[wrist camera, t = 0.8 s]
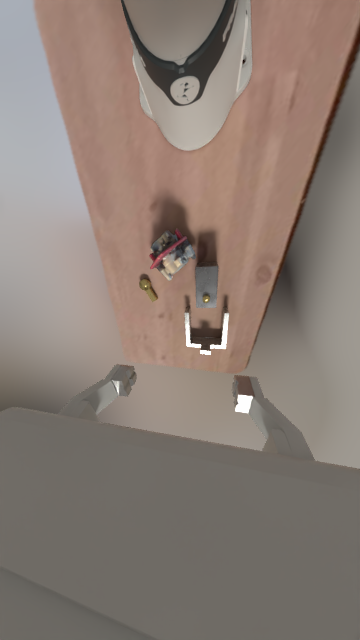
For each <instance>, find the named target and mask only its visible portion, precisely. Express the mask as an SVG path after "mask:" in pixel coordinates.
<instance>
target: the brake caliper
mask: <svg viewBox="0 0 360 640" xmlns="http://www.w3.org/2000/svg"><path fill="white" fill-rule="evenodd" d="M151 251H152V252H154V253H152V254H150V255H149V256H150V258H151V259H152V260H153V261H154V262H153V264H152V266H151V267H150V268H151V269H153V268H155V267H156V268H157V269H158V270H159V271H160V272H161V273H162V274H163V275H164V276H165V278H166V279H167V280H168V281H170V280H171V279H172V277H173V275H172V274H175V273H176V272H177V271H179V270H180V269H181V268H182V267H183V266H184V265H185V264H186V263H187V262H188V259H189V258H190V257H191V258H192V259H195V258H196V256H195V252H194V250H193V248H192V246H191V244H190V243H189V242H188V240H187V236H184V237H183V236H182V235H181V233H180V231H179V230H178V229H176V230H175V235H173V234H172V233H171V232H170V231H168V230H166V231H165V232H164V233H163V234H162V236H161V237H160V238H159V239H157V240H156V241H155V242H154V243H153V244H152V247H151Z"/></svg>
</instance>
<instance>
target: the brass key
mask: <svg viewBox="0 0 360 640" xmlns="http://www.w3.org/2000/svg"><path fill="white" fill-rule="evenodd" d="M139 285H140V288H141V289H142V290H145V291H146V293H147V294H148V296H149V297H150V299H151V300H152V302H153V301H155V300H157V299H158V297H157V296H156V294H155V293H154V291H153V289H152V288H151V282H150V280H148V279H143V280H141V281H140V283H139Z"/></svg>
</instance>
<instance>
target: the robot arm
mask: <svg viewBox="0 0 360 640" xmlns="http://www.w3.org/2000/svg"><path fill="white" fill-rule="evenodd" d="M121 3H122V7H123V11H124V14H125V18H126V21H127V25H128V29H129V32H130V37H131V41H132V44H133V53H134V55H133V57H132V61H133V65H134V69H135V72H136V74H137V77H138V80H139V83H140V104H141V107H142V109H143V111H144V113H145V114H146V115H147V116H149V117H150V118H151V119H153V120H154V121H155V122H156V123H157V125H158V126H159V128H160V130H161V131H162V133H163V135H164V136H165V138H166V139H167V140H168V141H169V142H170V143H171V144H172V145H173V146H175V147H177V148H179V149H182V150H195V149H198V148H201V147H202V146H204V145H206V144H207V143H208V142H210V141H211V140H212V139H213V138H214V136H215V135H216V134H217V133H218V131H219V130H220V128H221V127H222V125H223V124H224V122H225V120H226V118H227V115H228V113H229V111H230V109H231V107H232V105H233V103H234V101H235V100H236V99H237V98H238V96H239V95H240V94H241V93H242V92H243V90H244V89H245V88H246V86H247V85H248V83H249V81H250V78H251V72H252V39H251V0H121ZM243 60H245V64H243V65H242V62H243ZM135 381H136V373H135V372H134V366H128V365H119V364H117V365H115V366H114V367H113V369H112V370H111V371H110V373H109V374H108V375H107V376H106V378H105V379H104V380H101V381H99V382H98V383H96V384H94V385H93V386H91V387H89V388H88V389H86V390H85V391H83V392H81V393H79V394H78V395H76V396H75V397H73V398H72V399H71V400H70V401H69V402H68V403H67V405H66V406H65V407H64V408H63V409H62V410H61V411H60V412H59V414H52V413H46V412H41V411H36V410H30V409H25V408H20V407H12V408H9V409H7V410H4V411H2V412H0V640H360V469H357V468H352V467H347V466H341V465H335V464H329V463H324V462H319V461H315V459H314V457H313V455H312V453H311V451H310V449H309V447H308V445H307V443H306V441H305V439H304V437H303V434H302V433H301V432H300V431H299V430H298V429H297V428H296V427H295V426H294V425H293V424H292V423H291V422H290V421H289V420H288V419H287V418H286V417H285V416H284V415H283V414H282V413H281V412H280V411H279V410H278V409H277V408H276V407H275V406H274V405H273V404H272V403H271V402H270V401H269V400H268V399H266V398H264V396H263V393H262V390H261V387H260V384H259V382H258V379H257V377H250V376H240V375H239V376H238V375H234V382H233V387H232V390H233V396H234V397H235V399H234V404H235V410H236V411H238V412H244V413H249V415H250V417H251V418H252V420H253V421H254V422H255V424H256V425H257V427H258V428H259V429H260V431H261V432H262V434H263V435H264V436H265V438H266V439H267V441H266V443H265V446H264V448H263V451H258V450H252V449H247V448H241V447H235V446H230V445H224V444H219V443H213V442H208V441H202V440H197V439H191V438H186V437H180V436H175V435H169V434H164V433H158V432H152V431H147V430H141V429H135V428H130V427H124V426H118V425H114V424H108V423H102V422H100V419H99V417H98V416H97V414H98V413H99V412H100V411H102V410H103V409H104V408H105V407H106V406H107V405H109V404H110V403H111V402H112V401H113V400H114V399H115V398H117V397H118V395H119V396H128V395H129V393H130V391H131V386H132V385H134V383H135Z"/></svg>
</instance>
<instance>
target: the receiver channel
mask: <svg viewBox="0 0 360 640" xmlns="http://www.w3.org/2000/svg"><path fill="white" fill-rule="evenodd" d="M228 318H229V311H228V308H227V307H223V318H222V330H221V338H208V337H192V335H191V312H190V307H186V310H185V326H186V341H187V347H201V351H200V352H201V354H210V348H221V349H225V348H226V338H227V328H228Z"/></svg>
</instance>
